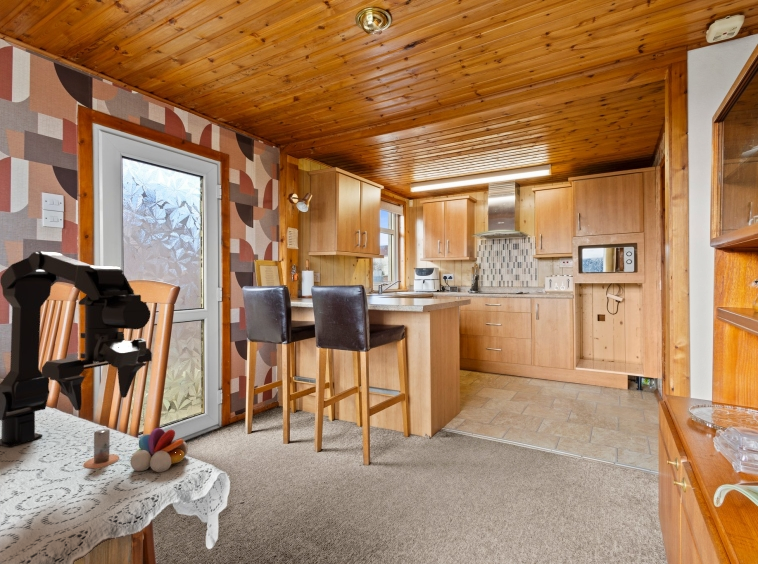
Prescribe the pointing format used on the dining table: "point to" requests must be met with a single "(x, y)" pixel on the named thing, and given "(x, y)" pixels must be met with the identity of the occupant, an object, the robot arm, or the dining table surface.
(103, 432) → the steel peg
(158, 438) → the rainbow petal ball
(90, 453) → the dining table surface
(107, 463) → the marker disc
